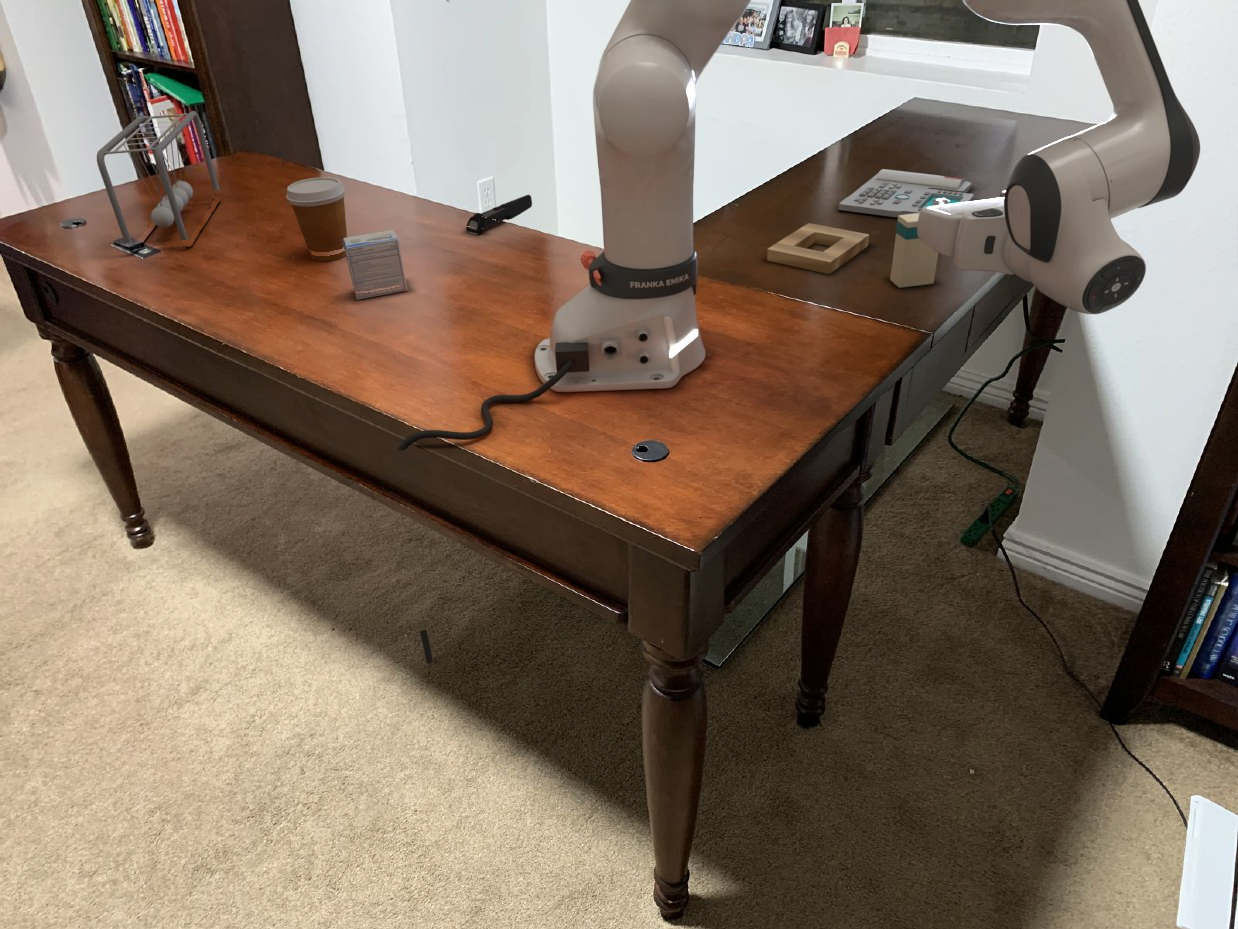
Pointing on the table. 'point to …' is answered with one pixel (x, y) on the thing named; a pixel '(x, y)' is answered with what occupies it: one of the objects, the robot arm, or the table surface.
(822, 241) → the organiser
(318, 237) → the disposable coffee cup
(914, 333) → the table surface
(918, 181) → the office telephone
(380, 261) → the medicine box
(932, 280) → the box
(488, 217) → the electric trimmer
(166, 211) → the newton's cradle
